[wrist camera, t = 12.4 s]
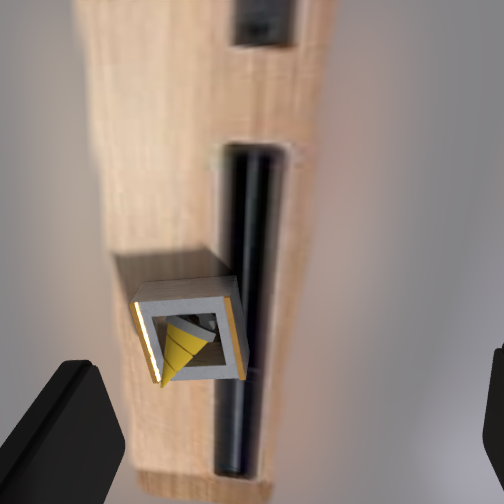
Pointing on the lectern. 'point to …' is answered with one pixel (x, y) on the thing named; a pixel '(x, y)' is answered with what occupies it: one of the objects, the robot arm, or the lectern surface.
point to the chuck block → (193, 302)
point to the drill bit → (185, 341)
